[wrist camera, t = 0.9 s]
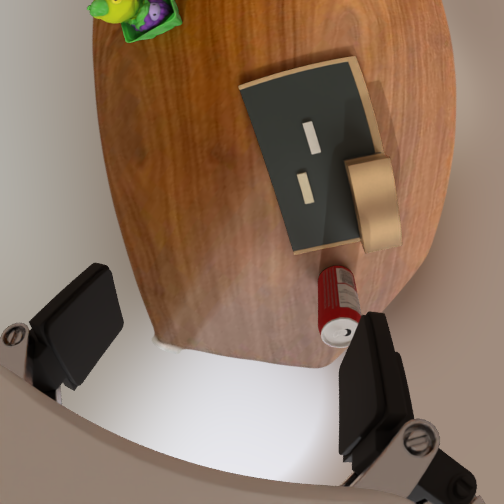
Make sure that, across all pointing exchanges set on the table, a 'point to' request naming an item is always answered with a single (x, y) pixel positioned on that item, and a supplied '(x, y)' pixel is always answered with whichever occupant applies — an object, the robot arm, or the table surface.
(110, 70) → the table surface
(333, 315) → the soda can
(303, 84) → the chalkboard
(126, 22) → the fruit basket
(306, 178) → the chalk mark
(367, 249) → the eraser
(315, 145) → the white chalk stick
